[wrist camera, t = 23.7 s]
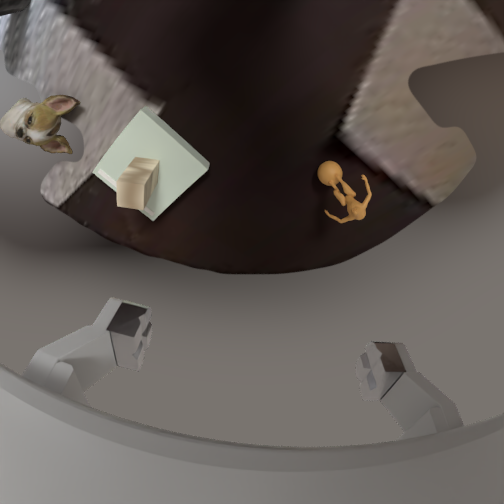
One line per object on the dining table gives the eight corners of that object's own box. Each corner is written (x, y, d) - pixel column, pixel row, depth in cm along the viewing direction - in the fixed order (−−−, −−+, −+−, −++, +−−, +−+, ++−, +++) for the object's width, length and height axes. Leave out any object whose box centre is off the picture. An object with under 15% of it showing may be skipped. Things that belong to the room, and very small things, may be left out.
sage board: (98, 165, 43) (91, 172, 41) (145, 105, 37) (140, 109, 35) (156, 213, 50) (152, 221, 48) (209, 163, 44) (208, 170, 42)
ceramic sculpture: (-8, 98, 23) (63, 109, 28) (22, 83, 29) (88, 93, 34) (-9, 157, 30) (56, 173, 35) (17, 135, 36) (78, 149, 41)
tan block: (134, 179, 42) (117, 206, 36) (135, 156, 40) (116, 181, 34) (157, 182, 43) (143, 210, 37) (159, 160, 40) (144, 184, 34)
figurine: (335, 143, 42) (361, 177, 33) (359, 165, 44) (387, 203, 35) (301, 178, 46) (316, 220, 37) (326, 197, 48) (345, 241, 39)
